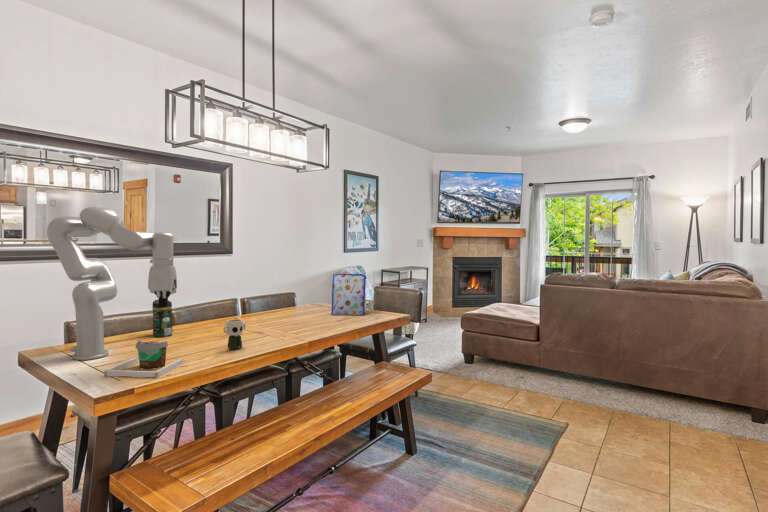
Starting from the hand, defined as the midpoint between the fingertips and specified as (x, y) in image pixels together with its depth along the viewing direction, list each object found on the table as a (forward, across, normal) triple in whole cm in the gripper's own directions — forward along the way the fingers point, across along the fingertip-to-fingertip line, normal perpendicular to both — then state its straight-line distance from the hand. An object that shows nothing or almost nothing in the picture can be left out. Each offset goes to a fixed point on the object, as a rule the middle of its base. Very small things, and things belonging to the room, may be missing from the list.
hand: (163, 307), depth 173 cm
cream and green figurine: (+22, +22, +20) cm, 37 cm away
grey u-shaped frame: (+22, +1, -12) cm, 25 cm away
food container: (+22, 0, -10) cm, 24 cm away
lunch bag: (+21, +60, +111) cm, 128 cm away
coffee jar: (+23, -25, +40) cm, 52 cm away
